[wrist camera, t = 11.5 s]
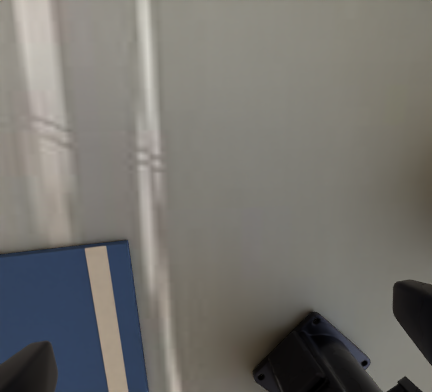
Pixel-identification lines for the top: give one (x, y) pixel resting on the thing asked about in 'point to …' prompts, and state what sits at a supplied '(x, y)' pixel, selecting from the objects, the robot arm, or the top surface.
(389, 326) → the top surface
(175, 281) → the top surface
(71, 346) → the towel
